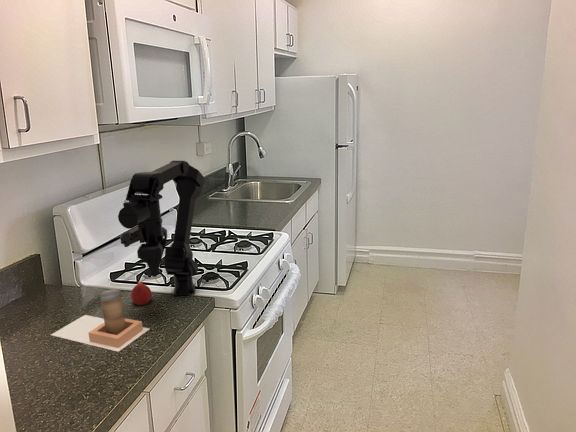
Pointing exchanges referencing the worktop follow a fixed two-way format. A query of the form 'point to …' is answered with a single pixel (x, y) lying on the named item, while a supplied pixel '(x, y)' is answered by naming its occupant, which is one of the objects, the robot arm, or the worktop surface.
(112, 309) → the gray-capped wooden tube
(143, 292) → the red oval fruit
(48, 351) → the worktop surface
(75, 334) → the mount board
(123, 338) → the socket
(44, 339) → the worktop surface
